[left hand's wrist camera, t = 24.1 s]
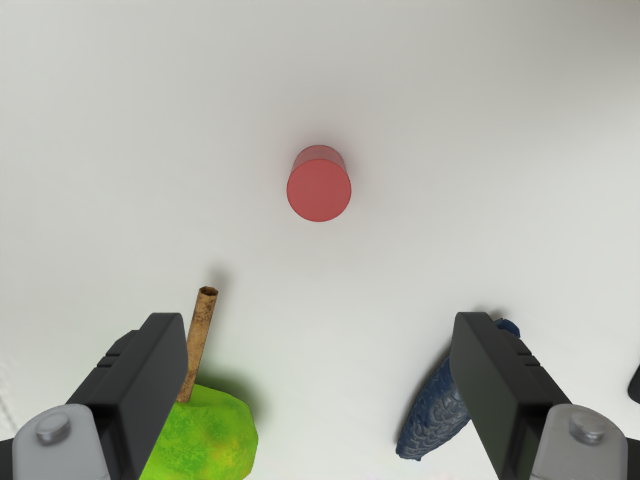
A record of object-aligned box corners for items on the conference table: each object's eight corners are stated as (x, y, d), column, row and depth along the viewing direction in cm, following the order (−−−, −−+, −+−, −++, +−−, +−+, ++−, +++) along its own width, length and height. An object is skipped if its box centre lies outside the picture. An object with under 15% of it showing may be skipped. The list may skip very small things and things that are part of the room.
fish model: (528, 319, 41) (554, 350, 36) (432, 456, 48) (443, 496, 43) (471, 298, 40) (490, 326, 35) (382, 440, 47) (388, 479, 42)
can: (325, 206, 36) (327, 233, 29) (283, 178, 35) (274, 199, 28) (355, 164, 35) (364, 183, 28) (311, 134, 34) (309, 145, 27)
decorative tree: (302, 352, 30) (216, 588, 40) (304, 290, 40) (235, 492, 50) (67, 291, 28) (35, 557, 38) (130, 241, 38) (92, 462, 48)
